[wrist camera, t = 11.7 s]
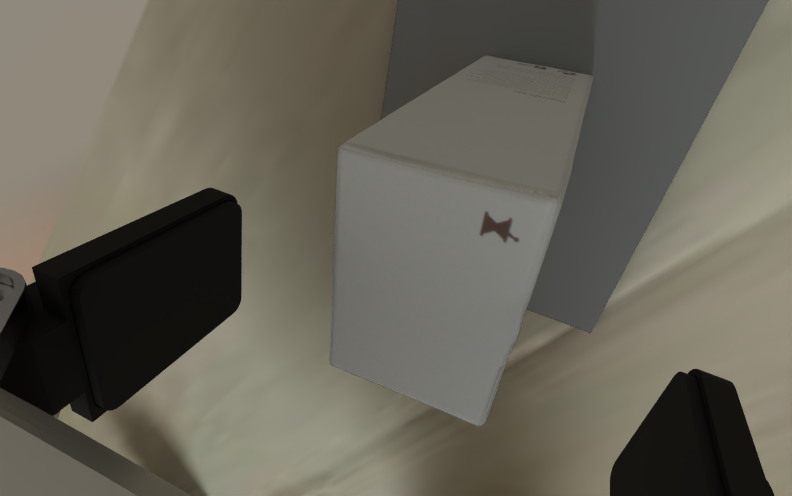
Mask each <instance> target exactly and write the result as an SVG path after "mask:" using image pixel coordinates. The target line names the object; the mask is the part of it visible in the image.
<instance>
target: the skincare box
mask: <svg viewBox="0 0 792 496" xmlns="http://www.w3.org/2000/svg"><path fill="white" fill-rule="evenodd" d="M592 81H593V76H591V75H587V74H582V73H576V72H571V71H566V70H561V69H556V68H552V67H547V66H541V65H535V64H529V63H523V62H518V61H512V60H507V59H502V58H496V57H492V56H483V57H482V58H480V59H479V60H477V61H475V62H474V63H472V64H471V65H469V66H467V67H466V68H464V69H462V70H461V71H459V72H458V73H456V74H455V75H453V76H451V77H449V78H448V79H446V80H445V81H443V82H441V83H439V84H438V85H436V86H435V87H433V88H431V89H430V90H428V91H427V92H425V93H424V94H422V95H420V96H419V97H417V98H415V99H414V100H412V101H410V102H409V103H407V104H406V105H404V106H402V107H400V108H399V109H397V110H396V111H394V112H393V113H391V114H389V115H388V116H386V117H385V118H383V119H382V120H380V121H378V122H377V123H375V124H373V125H372V126H370V127H368V128H366V129H365V130H363V131H362V132H360V133H358V134H357V135H355V136H354V137H352V138H351V139H349V140H347V141H346V142H344V143H343V144H342V145H341V146H340V147H339V149H338V165H337V186H336V210H335V235H334V267H333V301H332V329H331V350H330V364H331V365H332V366H334V367H336V368H339V369H342V370H344V371H346V372H349V373H351V374H354V375H356V376H358V377H361V378H363V379H366V380H368V381H371V382H373V383H376V384H378V385H381V386H383V387H386V388H388V389H391V390H393V391H396V392H398V393H400V394H403V395H405V396H408V397H410V398H412V399H415V400H417V401H420V402H422V403H425V404H427V405H429V406H432V407H434V408H436V409H439V410H441V411H444V412H446V413H448V414H451V415H453V416H455V417H457V418H460V419H462V420H464V421H467V422H469V423H471V424H474V425H476V426H481V425H483V424H484V423H485V422H486V420H487V418H488V415H489V412H490V409H491V406H492V403H493V400H494V397H495V395H496V392H497V389H498V386H499V383H500V380H501V377H502V374H503V371H504V368H505V366H506V363H507V360H508V357H509V355H510V353H511V351H512V349H513V346H514V344H515V342H516V339H517V337H518V334H519V331H520V328H521V324H522V320H523V317H524V314H525V311H526V309H527V306H528V303H529V301H530V298H531V295H532V292H533V289H534V286H535V283H536V281H537V278H538V275H539V272H540V269H541V266H542V263H543V260H544V257H545V254H546V251H547V248H548V245H549V242H550V239H551V236H552V233H553V230H554V227H555V224H556V221H557V218H558V215H559V212H560V209H561V206H562V202H563V199H564V195H565V192H566V189H567V185H568V182H569V179H570V175H571V171H572V166H573V160H574V155H575V151H576V147H577V143H578V139H579V134H580V130H581V126H582V122H583V117H584V113H585V109H586V105H587V102H588V98H589V94H590V90H591V85H592Z"/></svg>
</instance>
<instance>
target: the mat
mask: <svg viewBox="0 0 792 496" xmlns="http://www.w3.org/2000/svg"><path fill="white" fill-rule="evenodd" d="M768 1H769V0H399V1H398V8H397V15H396V22H395V28H394V35H393V42H392V49H391V56H390V63H389V69H388V76H387V83H386V90H385V97H384V104H383V110H382V117H381V120H382V119H383V118H385V117H386V116H388V115H389V114H391V113H393V112H394V111H396V110H397V109H399V108H400V107H402V106H404V105H406V104H407V103H409V102H410V101H412V100H414V99H415V98H417V97H419V96H420V95H422V94H424V93H425V92H427V91H428V90H430V89H431V88H433V87H435V86H436V85H438V84H439V83H441V82H443V81H445V80H446V79H448V78H449V77H451V76H453V75H455V74H456V73H458V72H459V71H461V70H462V69H464V68H466V67H467V66H469V65H471V64H472V63H474V62H475V61H477V60H479V59H480V58H482V57H483V56H492V57H496V58H502V59H507V60H512V61H518V62H523V63H529V64H535V65H541V66H547V67H552V68H556V69H561V70H566V71H571V72H576V73H582V74H587V75H591V76H593V81H592V85H591V90H590V94H589V98H588V102H587V105H586V109H585V113H584V117H583V122H582V126H581V130H580V134H579V139H578V143H577V147H576V151H575V155H574V160H573V166H572V171H571V175H570V179H569V182H568V185H567V189H566V192H565V195H564V199H563V202H562V206H561V209H560V212H559V215H558V218H557V221H556V224H555V227H554V230H553V233H552V236H551V239H550V242H549V245H548V248H547V251H546V254H545V257H544V260H543V263H542V266H541V269H540V272H539V275H538V278H537V281H536V283H535V286H534V289H533V292H532V295H531V298H530V301H529V303H528V306H527V310H530V311H532V312H535V313H538V314H540V315H543V316H546V317H549V318H551V319H554V320H557V321H559V322H562V323H565V324H567V325H570V326H573V327H576V328H578V329H581V330H584V331H586V332H589V333H591V331H592V330H593V328H594V326H595V324H596V322H597V320H598V318H599V317H600V315H601V313H602V311H603V309H604V307H605V305H606V303H607V302H608V300H609V298H610V296H611V294H612V292H613V290H614V289H615V287H616V285H617V283H618V281H619V279H620V277H621V275H622V274H623V272H624V270H625V268H626V266H627V264H628V262H629V260H630V259H631V257H632V255H633V253H634V251H635V249H636V247H637V246H638V244H639V242H640V240H641V238H642V236H643V234H644V232H645V231H646V229H647V227H648V225H649V223H650V221H651V219H652V217H653V216H654V214H655V212H656V210H657V208H658V206H659V204H660V203H661V201H662V199H663V197H664V195H665V193H666V191H667V189H668V188H669V186H670V184H671V182H672V180H673V178H674V176H675V174H676V173H677V171H678V169H679V167H680V165H681V163H682V161H683V160H684V158H685V156H686V154H687V152H688V150H689V148H690V146H691V145H692V143H693V141H694V139H695V137H696V135H697V133H698V131H699V130H700V128H701V126H702V124H703V122H704V120H705V118H706V117H707V115H708V113H709V111H710V109H711V107H712V105H713V103H714V102H715V100H716V98H717V96H718V94H719V92H720V90H721V88H722V87H723V85H724V83H725V81H726V79H727V77H728V75H729V74H730V72H731V70H732V68H733V66H734V64H735V62H736V60H737V59H738V57H739V55H740V53H741V51H742V49H743V47H744V45H745V44H746V42H747V40H748V38H749V36H750V34H751V32H752V31H753V29H754V27H755V25H756V23H757V21H758V19H759V17H760V16H761V14H762V12H763V10H764V8H765V6H766V4H767V3H768Z"/></svg>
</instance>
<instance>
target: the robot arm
mask: <svg viewBox="0 0 792 496" xmlns="http://www.w3.org/2000/svg"><path fill="white" fill-rule="evenodd" d="M241 245H242V211H241V207H240V206H239V205H238V204H237V200H236V198H235V197H234V196H233V195H230V194H227V193H224V192H222V191H219V190H216V189H214V188H207V189H204V190H202V191H200V192H197V193H195V194H193V195H191V196H188V197H186V198H184V199H182V200H180V201H177V202H175V203H173V204H171V205H169V206H166V207H164V208H162V209H160V210H158V211H155V212H153V213H151V214H149V215H146V216H144V217H142V218H140V219H138V220H135V221H133V222H131V223H129V224H127V225H124V226H122V227H120V228H118V229H116V230H113V231H111V232H109V233H107V234H104V235H102V236H100V237H98V238H96V239H93V240H91V241H89V242H87V243H85V244H82V245H80V246H78V247H76V248H73V249H71V250H69V251H67V252H65V253H62V254H60V255H58V256H56V257H54V258H51V259H49V260H47V261H45V262H43V263H40V264H38V265H36V266H34V267H32V269H33V273H34V276H35V280H36V282H34V283H32V284H30V285H28V286H27V285H26V282H25V280H24V278H23V276H22V275H21V274H19V273H17V272H16V271H13V270H9V269H5V268H0V496H191V495H189V494H188V493H186V492H184V491H183V490H181V489H179V488H177V487H176V486H174V485H172V484H170V483H169V482H167V481H165V480H163V479H162V478H160V477H158V476H156V475H155V474H153V473H151V472H149V471H148V470H146V469H144V468H142V467H141V466H139V465H137V464H135V463H134V462H132V461H130V460H128V459H127V458H125V457H123V456H121V455H120V454H118V453H116V452H114V451H113V450H111V449H109V448H107V447H105V446H104V445H102V444H100V443H98V442H97V441H95V440H93V439H91V438H90V437H88V436H86V435H84V434H83V433H81V432H79V431H77V430H76V429H74V428H72V427H70V426H69V425H67V424H65V423H63V422H62V421H60V420H58V417H59V414H60V410H61V409H63V408H64V407H65V406H67V405H68V404H69V403H70V405H71V409H72V411H74V412H75V413H77V414H79V415H81V416H83V417H84V418H86V419H88V420H90V421H91V422H93V421H95V420H96V419H97V418H98V417H100V416H101V415H102V414H103V413H105V412H106V411H107V410H114V409H116V408H118V407H119V406H121V405H122V404H123V403H124V402H126V401H127V400H128V399H129V398H130V397H132V396H133V395H134V394H135V393H137V392H138V391H139V390H140V389H141V388H143V387H144V386H145V385H146V384H148V383H149V382H150V381H151V380H152V379H154V378H155V377H156V376H157V375H159V374H160V373H161V372H162V371H163V370H165V369H166V368H167V367H168V366H170V365H171V364H172V363H173V362H174V361H176V360H177V359H178V358H179V357H181V356H182V355H183V354H184V353H185V352H187V351H188V350H189V349H190V348H192V347H193V346H194V345H195V344H196V343H198V342H199V341H200V340H201V339H203V338H204V337H205V336H206V335H207V334H209V333H210V332H211V331H212V330H214V329H215V328H216V327H217V326H218V325H220V324H221V323H222V322H223V321H225V320H226V319H227V318H228V317H229V316H231V315H232V314H233V313H234V312H235V311H236V310H237V308H238V307H239V305H240V302H241ZM610 496H774V493H773V491H772V489H771V487H770V485H769V483H768V481H767V480H766V478H765V475H764V472H763V469H762V466H761V463H760V460H759V457H758V454H757V451H756V448H755V445H754V442H753V439H752V436H751V433H750V430H749V427H748V424H747V421H746V418H745V415H744V412H743V409H742V406H741V403H740V400H739V397H738V394H737V391H736V388H735V386H734V384H733V383H732V382H730V381H728V380H725V379H723V378H720V377H717V376H715V375H712V374H709V373H707V372H704V371H701V370H699V369H693V370H691V371H690V372H689V373H688V374H686V373H683V372H678V373H677V374H676V375H675V376H674V377H673V379H672V380H671V381H670V383H669V384H668V386H667V387H666V389H665V390H664V392H663V393H662V394H661V396H660V397H659V399H658V400H657V402H656V403H655V405H654V406H653V408H652V409H651V410H650V412H649V413H648V415H647V416H646V418H645V419H644V421H643V422H642V424H641V425H640V426H639V428H638V429H637V431H636V432H635V434H634V435H633V437H632V438H631V439H630V441H629V442H628V444H627V445H626V447H625V448H624V450H623V451H622V453H621V454H620V455H619V457H618V458H617V460H616V461H615V463H614V466H613V468H612V472H611V477H610Z"/></svg>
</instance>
